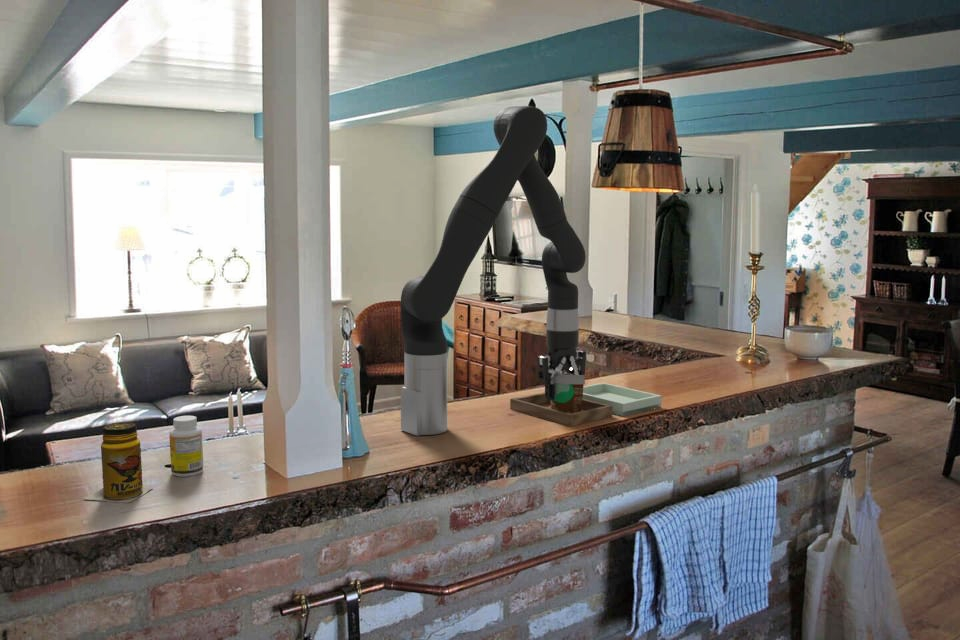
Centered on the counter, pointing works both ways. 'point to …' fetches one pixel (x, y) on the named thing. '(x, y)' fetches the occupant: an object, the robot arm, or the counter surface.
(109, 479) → the condiment
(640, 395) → the sage tray
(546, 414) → the walnut frame
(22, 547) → the counter surface
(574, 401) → the food container
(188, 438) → the supplement bottle
